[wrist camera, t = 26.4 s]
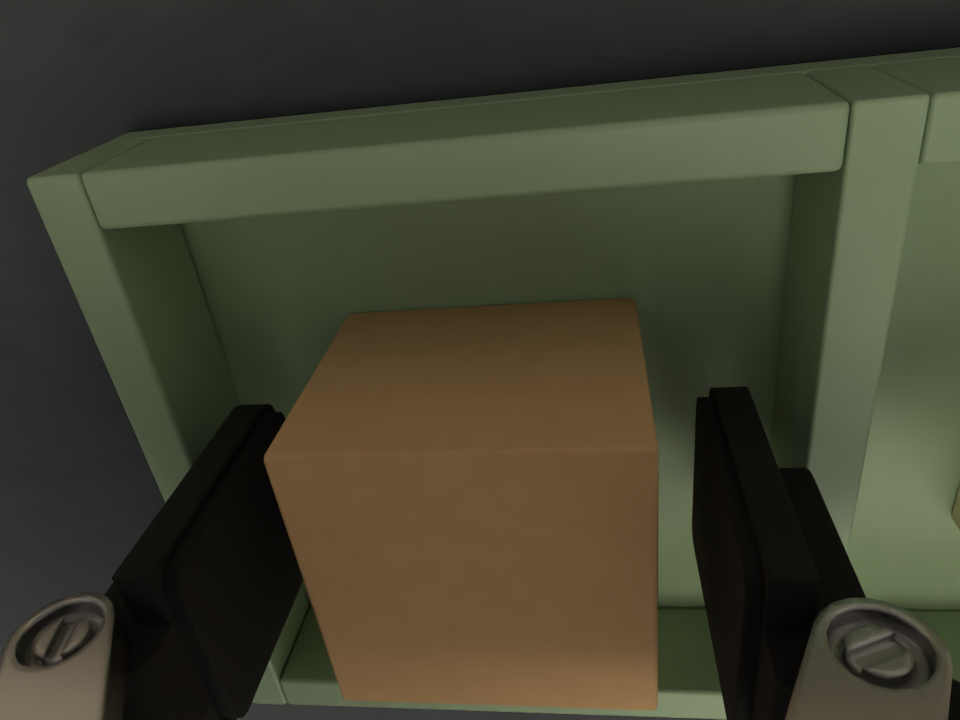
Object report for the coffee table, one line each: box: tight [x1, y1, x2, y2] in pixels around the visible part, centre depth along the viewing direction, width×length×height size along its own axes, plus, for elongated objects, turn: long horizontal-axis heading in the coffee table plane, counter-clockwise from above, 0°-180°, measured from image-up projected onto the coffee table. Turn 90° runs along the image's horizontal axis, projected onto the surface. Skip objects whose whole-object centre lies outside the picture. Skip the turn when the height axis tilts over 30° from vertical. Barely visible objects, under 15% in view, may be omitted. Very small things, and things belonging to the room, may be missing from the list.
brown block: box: [264, 298, 659, 710], centre depth 11 cm, size 5×5×4 cm
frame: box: [27, 47, 960, 719], centre depth 12 cm, size 21×11×3 cm, turn 97°
